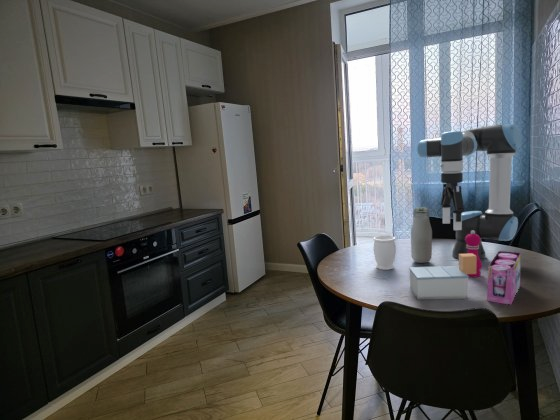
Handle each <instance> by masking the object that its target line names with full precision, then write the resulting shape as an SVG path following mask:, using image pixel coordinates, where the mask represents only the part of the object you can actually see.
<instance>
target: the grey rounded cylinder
mask: <svg viewBox="0 0 560 420" xmlns="http://www.w3.org/2000/svg"><path fill="white" fill-rule="evenodd" d="M430 222H431V221H430V209H429V208H428V207H426V206H418V207H415V208H414V209H413V221H412V224H411V228H410V245H411V246H410V251H411V255H410V257H411V258H412V260H413V261H414V262H415V263H418V264H425V263H426V264H427V263H429V262H430V261H431V259H432V254H433V247H432V245H433V244H432V243H433V230H432V226H431V225H432V224H431V223H430Z"/></svg>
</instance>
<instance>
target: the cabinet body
mask: <svg viewBox="0 0 560 420" xmlns="http://www.w3.org/2000/svg"><path fill="white" fill-rule="evenodd" d="M468 279H469V278H454V279H452V278H451V279H423V280H417V279H416V277H415V276H414V275H413V274H412V272H411V271H410V270H409V288H410V290H411V291H412V293H413V295H414V296H415V298H416V299H417V300H419V301H420V300H421V301H422V300H451V299H455V300H457V299H468V295H469V294H468V290H469V289H468V287H469V286H468V285H469V284H468V282H469V280H468Z"/></svg>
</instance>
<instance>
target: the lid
mask: <svg viewBox="0 0 560 420" xmlns="http://www.w3.org/2000/svg"><path fill="white" fill-rule="evenodd" d="M476 264H477V256H476V255H474V254H473V253H467V254H459V259H458V266H457V265H443V266H442V265H440V266H439V265H438V266H414V267H412V266H411V267H408V270H409V272H410V271H411V272H412V274H413V275H414V276H415V277H416V279H417V280H423V279H451V278H452V279H454V278H468V279H469V276H468V275H467V274H476Z"/></svg>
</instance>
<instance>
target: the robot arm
mask: <svg viewBox="0 0 560 420" xmlns="http://www.w3.org/2000/svg"><path fill="white" fill-rule="evenodd" d="M520 131H521V130H520V128H519V127H518V126H517V125H516V124H514V123H510V124H509V123H504V124H497V125H486V126H479V127H474V128H470V129H468V130H464V131H460V130H457V131H456V130H455V131H447V132H446V131H445V132H442V133H441V135H440V137H437V138H433V139H432V138H431V139H422V140H420V141H419V142H418V145H417V150H416V151H417V154H418V156H419V157H420V158H439V157H441V160H440V161H441V163H440V164H439V167H440V169H441V170H440V172H441V175H440V177H441V178H440V182H441V183H442V194H441V200H440V206H441V208H442V225H443V224H447V225H448V224H451V207H453V211H452V214H453V216H452V217H453V223H452V224H453V226H452V227H453V231H455V244H454V245H453V246H454V247H453V248H452V251H451V253H452V254H451V256H452V257H453V258H454V259H457V260H459V254H467V253H468V249H467V248H466V247H467V246H466V245H467V243H466V242H465V237H466V236H467V235H468V234H471V231H472V230H474V231H475V234H477V235H478V236H479V237H480V239H481V241H480V243H479V244H478V245H479V249H478V256H479V258H480V260H484V259H486V251H485V249H484V248H485V247H484V246H483V242H482V241H483V240H482V239H485V240H494V241H495V240H496V241H499V242H500V241H501V242H502V241H504V242H507V241H511V240H513V238H514V237H515V235H516V234H517V231H518V227H519V219H518V217H516V216H514V211H513V210H512V209H511V181H512V180H511V179H512V158H513V157H514V156H515V155H516V151H518V150H519V149H520V148H521V145H522V135H521V132H520ZM475 152H486V156H487V157H489V189H488V190H489V191H488V192H489V193H488V208H487V210H485V211H484V214H483V212H482V211H481V210H471V211H465V207H464V200H463V194H462V186H461V185H458V184H459V183H463V180H464V179H463V171H464V164H463V163H464V158H463V157H464V156H466V157H468V156H470V155H472V154H474V153H475ZM451 204H452V205H451Z"/></svg>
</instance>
